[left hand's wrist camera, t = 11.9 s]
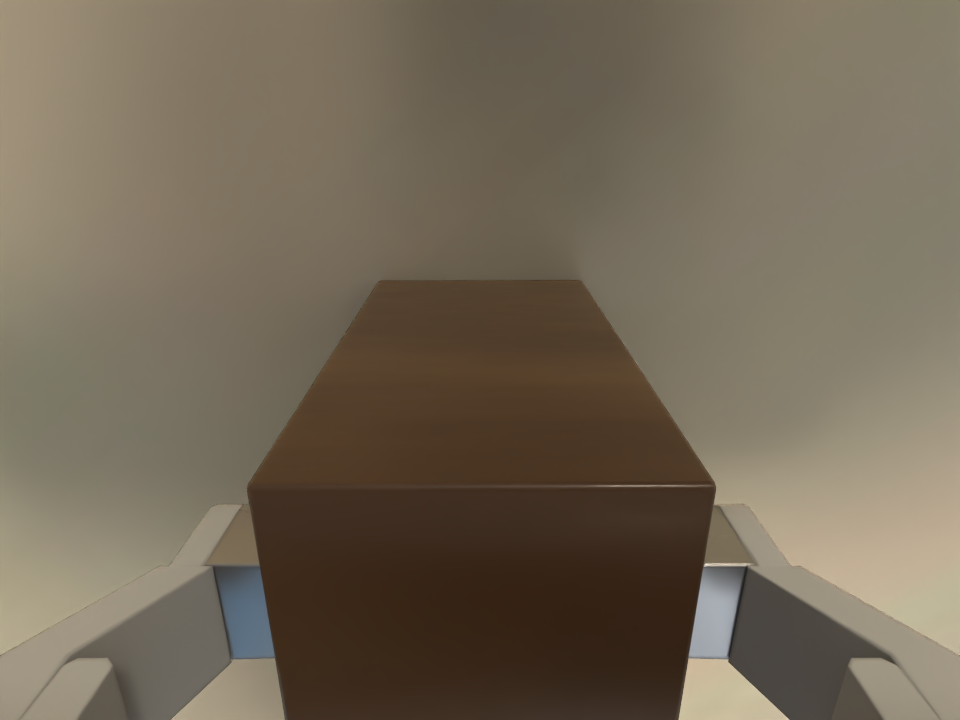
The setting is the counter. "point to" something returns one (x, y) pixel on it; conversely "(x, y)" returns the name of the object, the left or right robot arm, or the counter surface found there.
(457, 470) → the bar
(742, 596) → the left robot arm
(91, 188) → the counter surface
